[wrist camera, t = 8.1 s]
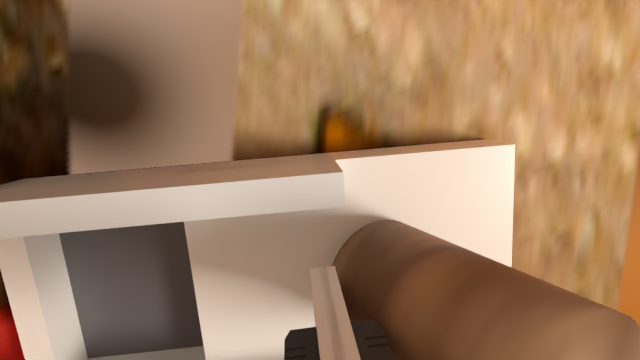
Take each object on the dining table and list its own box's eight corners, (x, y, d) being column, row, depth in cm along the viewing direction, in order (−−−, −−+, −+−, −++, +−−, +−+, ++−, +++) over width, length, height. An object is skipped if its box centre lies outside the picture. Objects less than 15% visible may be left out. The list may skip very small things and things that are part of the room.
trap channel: (72, 377, 24) (-11, 477, 17) (23, 178, 21) (-95, 210, 15) (483, 331, 25) (547, 409, 19) (486, 139, 22) (562, 152, 16)
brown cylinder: (328, 344, 18) (503, 558, 10) (327, 228, 17) (524, 347, 8) (422, 315, 21) (630, 463, 12) (427, 212, 20) (659, 292, 11)
